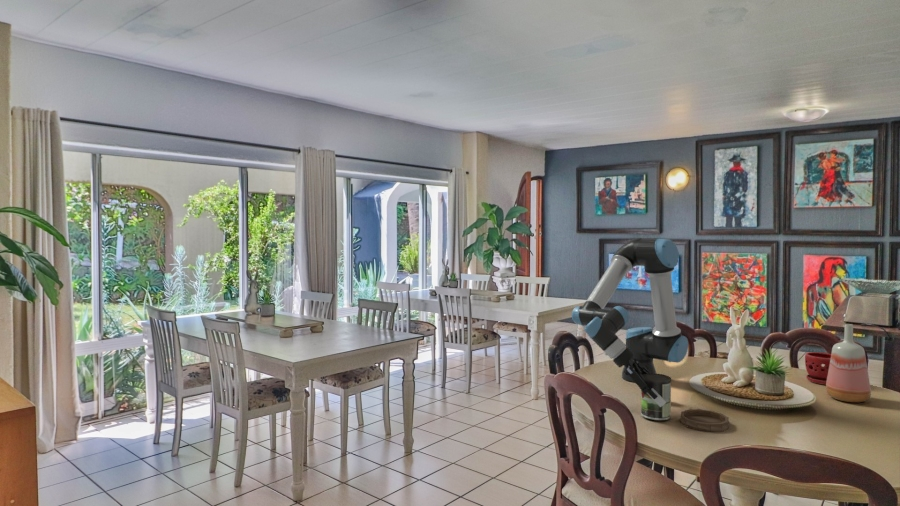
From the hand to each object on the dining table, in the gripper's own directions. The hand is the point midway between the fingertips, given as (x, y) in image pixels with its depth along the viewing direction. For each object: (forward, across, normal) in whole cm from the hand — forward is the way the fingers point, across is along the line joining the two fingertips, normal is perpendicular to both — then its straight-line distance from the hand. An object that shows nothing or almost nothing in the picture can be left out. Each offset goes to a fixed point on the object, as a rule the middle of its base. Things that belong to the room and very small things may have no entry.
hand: (664, 400), depth 201 cm
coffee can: (+2, 0, -6) cm, 7 cm away
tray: (+14, 0, +4) cm, 15 cm away
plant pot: (+47, -75, +35) cm, 95 cm away
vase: (+50, -51, +39) cm, 81 cm away
